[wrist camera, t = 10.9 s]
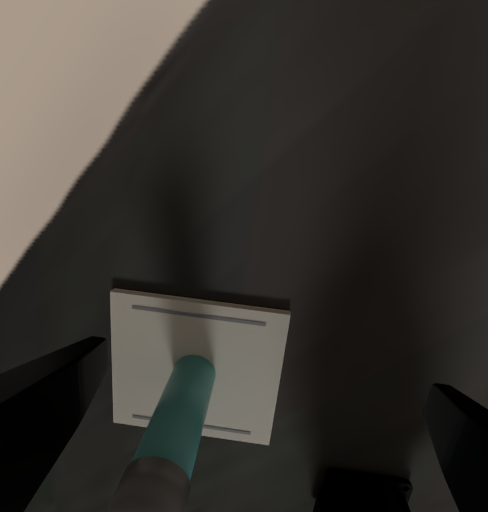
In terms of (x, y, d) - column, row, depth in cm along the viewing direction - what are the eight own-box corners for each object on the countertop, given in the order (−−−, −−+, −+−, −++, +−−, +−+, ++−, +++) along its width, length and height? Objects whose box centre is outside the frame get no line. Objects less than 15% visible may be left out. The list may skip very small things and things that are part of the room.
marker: (218, 356, 22) (180, 507, 13) (215, 394, 23) (177, 561, 14) (173, 350, 22) (101, 495, 13) (171, 388, 23) (103, 548, 14)
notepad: (289, 310, 21) (290, 315, 21) (268, 438, 25) (268, 446, 24) (114, 288, 22) (109, 292, 21) (116, 416, 25) (113, 423, 25)
